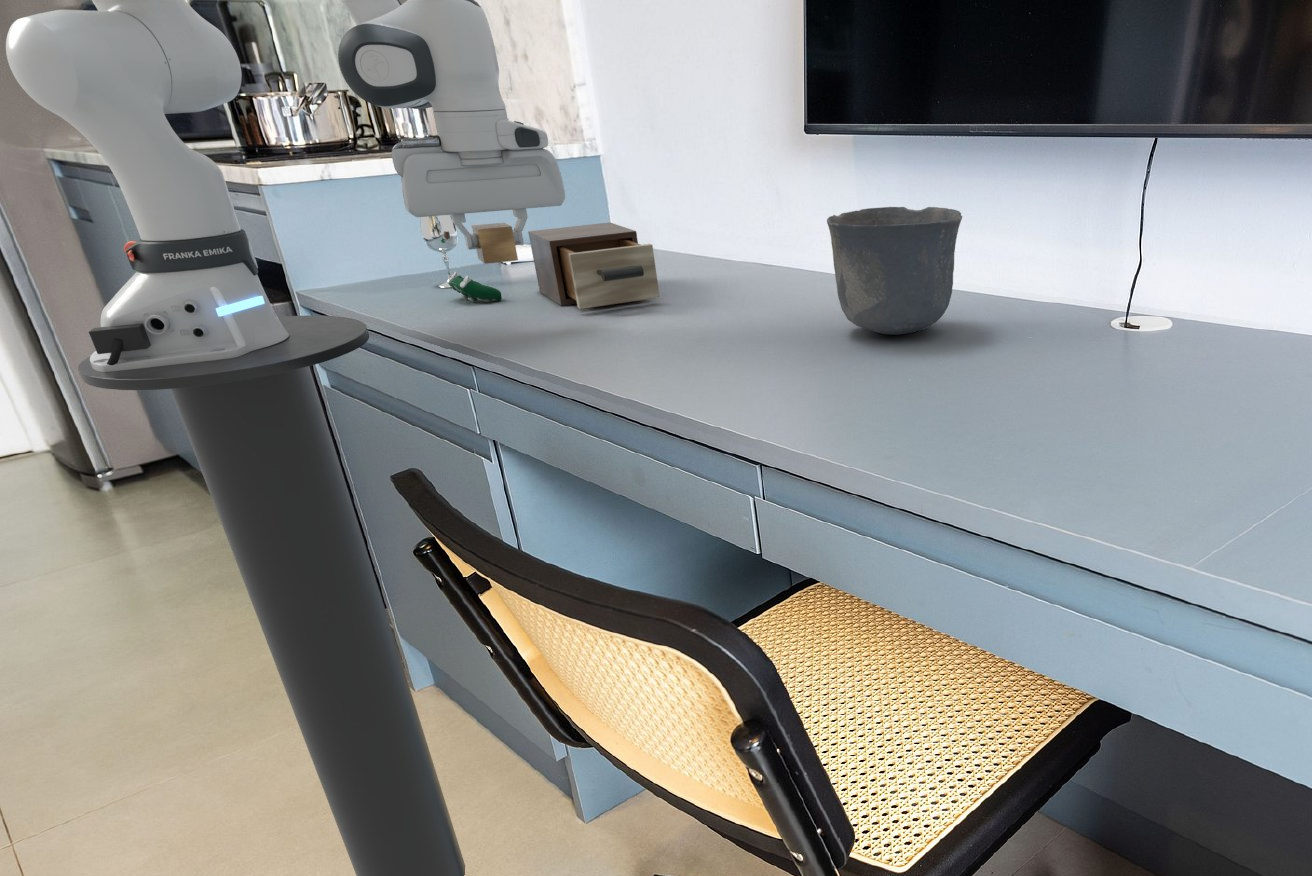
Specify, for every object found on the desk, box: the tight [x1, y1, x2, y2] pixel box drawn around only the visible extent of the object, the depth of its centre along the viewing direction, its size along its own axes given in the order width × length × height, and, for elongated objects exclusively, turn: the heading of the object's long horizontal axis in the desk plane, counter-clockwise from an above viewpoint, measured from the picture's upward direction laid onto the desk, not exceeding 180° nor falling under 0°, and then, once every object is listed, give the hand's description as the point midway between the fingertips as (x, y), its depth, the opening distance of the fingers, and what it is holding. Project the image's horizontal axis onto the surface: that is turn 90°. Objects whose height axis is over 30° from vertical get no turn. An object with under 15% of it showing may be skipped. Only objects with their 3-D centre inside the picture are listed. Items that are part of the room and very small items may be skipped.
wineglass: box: [419, 215, 459, 289], centre depth 174 cm, size 6×6×12 cm
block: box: [471, 222, 519, 265], centre depth 135 cm, size 4×4×4 cm
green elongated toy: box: [448, 271, 503, 303], centre depth 163 cm, size 9×4×6 cm
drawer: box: [556, 239, 661, 310], centre depth 154 cm, size 17×13×8 cm
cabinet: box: [527, 221, 639, 307], centre depth 163 cm, size 14×14×10 cm
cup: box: [826, 206, 963, 336], centre depth 129 cm, size 18×18×15 cm
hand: (495, 246), depth 136 cm, fingers closed on block, 4 cm apart
